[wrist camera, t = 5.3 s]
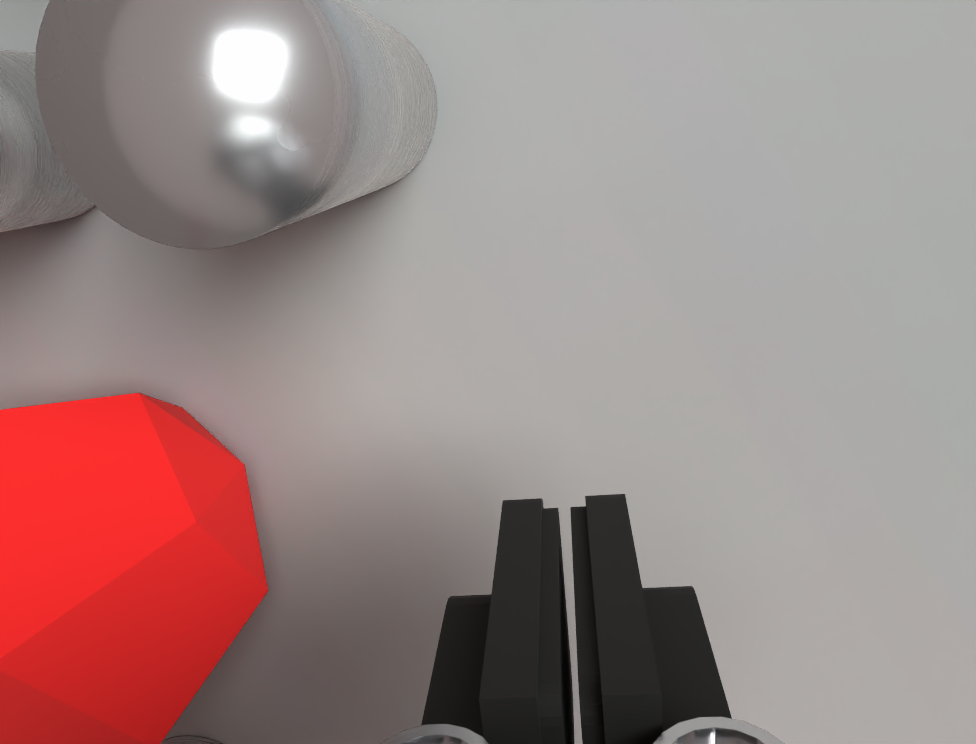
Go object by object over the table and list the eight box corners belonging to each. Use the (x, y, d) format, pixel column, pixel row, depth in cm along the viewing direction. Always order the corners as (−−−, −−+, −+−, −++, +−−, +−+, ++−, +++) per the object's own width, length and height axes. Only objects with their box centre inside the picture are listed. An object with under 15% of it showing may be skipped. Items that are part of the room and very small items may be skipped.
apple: (118, 362, 11) (-519, 699, 10) (358, 699, 14) (-109, 991, 12) (143, 265, 17) (-241, 462, 16) (304, 510, 20) (-10, 693, 19)
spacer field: (379, -425, 12) (170, -1063, 6) (536, 1020, 21) (526, 1441, 14) (-481, -273, 14) (-1433, -633, 7) (-8, 1011, 23) (-246, 1386, 16)
